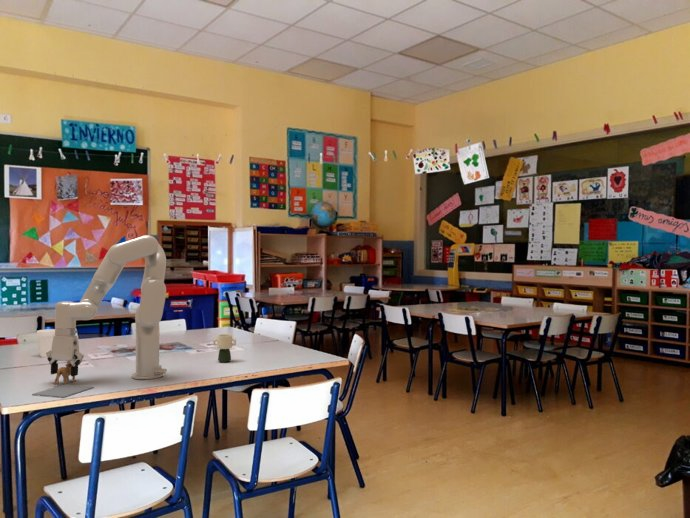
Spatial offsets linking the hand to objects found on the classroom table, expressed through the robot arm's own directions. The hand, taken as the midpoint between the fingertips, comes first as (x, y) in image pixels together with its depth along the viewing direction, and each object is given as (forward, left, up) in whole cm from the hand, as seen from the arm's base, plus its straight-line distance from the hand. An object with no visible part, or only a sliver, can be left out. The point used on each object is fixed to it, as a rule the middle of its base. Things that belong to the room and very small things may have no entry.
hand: (64, 374), depth 227 cm
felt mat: (-9, +11, -4) cm, 15 cm away
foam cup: (+52, -46, -4) cm, 69 cm away
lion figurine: (0, 0, -4) cm, 4 cm away
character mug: (-40, -59, -4) cm, 72 cm away
